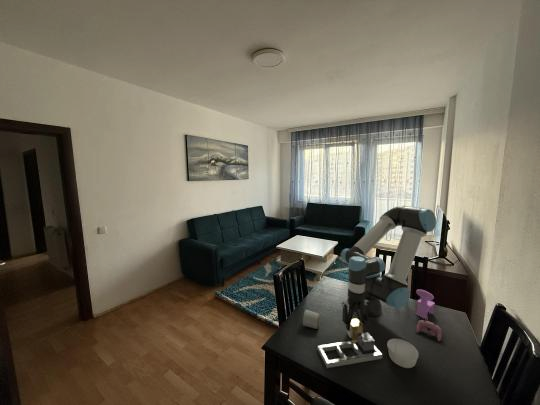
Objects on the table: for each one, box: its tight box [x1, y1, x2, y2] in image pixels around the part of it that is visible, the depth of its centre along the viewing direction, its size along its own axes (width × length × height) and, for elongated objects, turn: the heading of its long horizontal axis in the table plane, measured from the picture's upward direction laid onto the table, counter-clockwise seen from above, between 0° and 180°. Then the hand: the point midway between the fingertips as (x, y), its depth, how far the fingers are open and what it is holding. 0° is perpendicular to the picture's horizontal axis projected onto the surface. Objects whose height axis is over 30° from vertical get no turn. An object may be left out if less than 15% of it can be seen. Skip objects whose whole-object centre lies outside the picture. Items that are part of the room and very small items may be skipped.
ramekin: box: [386, 338, 420, 369], centre depth 92 cm, size 11×11×5 cm
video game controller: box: [415, 319, 443, 342], centre depth 106 cm, size 10×5×7 cm, turn 48°
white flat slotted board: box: [317, 339, 383, 369], centre depth 95 cm, size 25×10×2 cm, turn 100°
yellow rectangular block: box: [350, 318, 364, 341], centre depth 105 cm, size 5×5×7 cm
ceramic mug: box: [302, 309, 321, 330], centre depth 114 cm, size 11×8×8 cm
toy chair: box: [414, 289, 436, 321], centre depth 121 cm, size 8×9×15 cm
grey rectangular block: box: [357, 331, 376, 354], centre depth 96 cm, size 5×5×7 cm
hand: (354, 335), depth 106 cm, fingers closed on yellow rectangular block, 5 cm apart
